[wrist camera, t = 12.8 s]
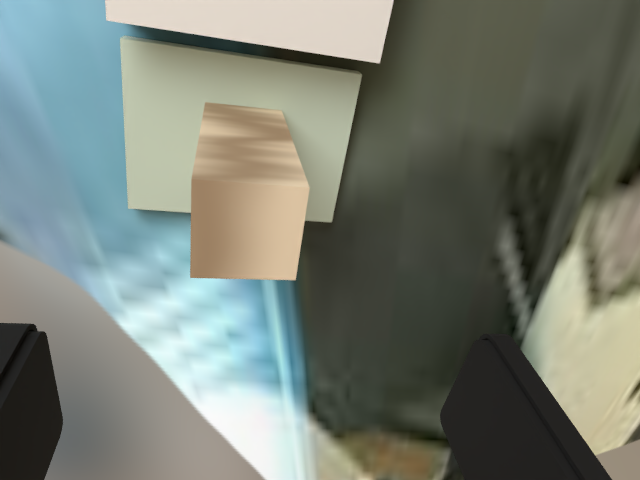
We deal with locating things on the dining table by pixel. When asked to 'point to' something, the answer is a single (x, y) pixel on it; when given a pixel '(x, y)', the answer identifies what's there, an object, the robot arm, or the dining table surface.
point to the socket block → (270, 22)
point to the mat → (233, 89)
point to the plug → (246, 196)
